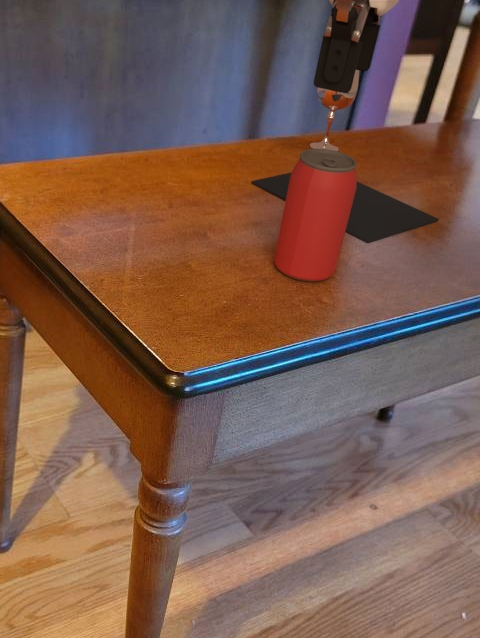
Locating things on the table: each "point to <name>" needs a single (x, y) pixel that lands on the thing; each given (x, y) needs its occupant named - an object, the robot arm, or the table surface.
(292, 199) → the beer can
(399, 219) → the mat
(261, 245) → the table surface
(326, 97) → the wineglass
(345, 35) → the robot arm
